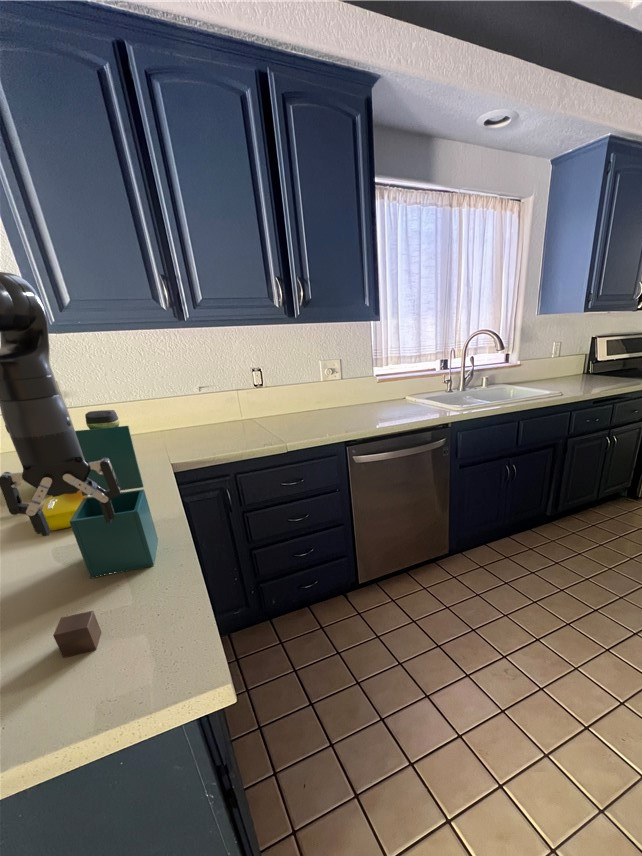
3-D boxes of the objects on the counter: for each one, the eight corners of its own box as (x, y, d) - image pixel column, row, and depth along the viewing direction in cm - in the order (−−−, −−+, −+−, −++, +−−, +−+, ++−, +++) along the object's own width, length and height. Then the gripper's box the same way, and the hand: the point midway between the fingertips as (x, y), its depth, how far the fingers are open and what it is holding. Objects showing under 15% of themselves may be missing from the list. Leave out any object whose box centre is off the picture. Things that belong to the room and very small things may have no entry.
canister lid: (127, 425, 91) (128, 425, 91) (63, 431, 87) (65, 431, 88) (143, 487, 94) (143, 486, 95) (82, 496, 90) (83, 495, 91)
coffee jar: (96, 467, 150) (79, 414, 142) (103, 460, 157) (87, 409, 149) (127, 463, 152) (112, 411, 144) (132, 457, 159) (118, 407, 151)
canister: (154, 565, 90) (137, 510, 84) (90, 578, 86) (69, 521, 80) (158, 539, 100) (144, 489, 95) (101, 549, 97) (83, 497, 91)
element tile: (52, 511, 116) (45, 494, 114) (115, 499, 123) (110, 483, 121) (44, 533, 105) (37, 515, 102) (114, 518, 111) (109, 502, 109)
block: (63, 658, 66) (52, 635, 64) (70, 639, 70) (60, 617, 68) (96, 649, 67) (87, 627, 66) (101, 632, 71) (93, 610, 69)
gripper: (100, 417, 68) (129, 509, 75) (-14, 429, 62) (28, 529, 69) (97, 427, 62) (128, 526, 69) (-30, 442, 56) (18, 549, 63)
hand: (78, 527), depth 69 cm, fingers open, 8 cm apart
